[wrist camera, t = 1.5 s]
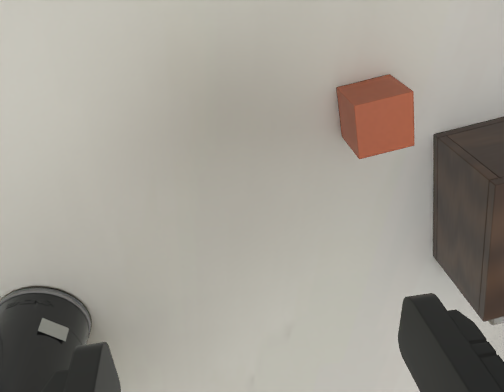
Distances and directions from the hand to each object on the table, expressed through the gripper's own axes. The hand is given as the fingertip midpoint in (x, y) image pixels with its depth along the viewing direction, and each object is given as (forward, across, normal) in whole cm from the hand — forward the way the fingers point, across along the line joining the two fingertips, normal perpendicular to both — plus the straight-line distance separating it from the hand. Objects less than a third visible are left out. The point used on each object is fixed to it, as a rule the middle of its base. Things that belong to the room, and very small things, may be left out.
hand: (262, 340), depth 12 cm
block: (+28, +13, -4) cm, 31 cm away
